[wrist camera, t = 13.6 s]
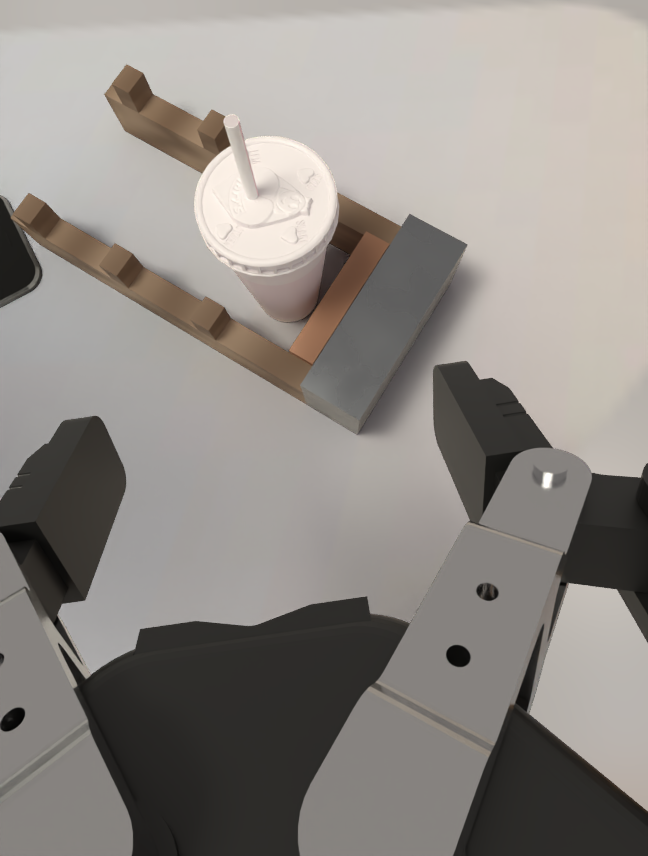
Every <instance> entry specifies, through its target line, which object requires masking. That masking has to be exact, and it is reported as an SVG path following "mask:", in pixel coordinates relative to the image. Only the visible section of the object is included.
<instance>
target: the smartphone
mask: <svg viewBox="0 0 648 856" xmlns="http://www.w3.org/2000/svg"><path fill="white" fill-rule="evenodd" d="M13 213H14V212H13V210H12V208H11V206H10V204H9V202H8V201H7V200H6V199H5V198H4V197H3V196H1V195H0V308H1V307H3V306H4V305H6V304H8V303H10V302H12V301H14V300H16V299H18V298H20V297H22V296H24V295H25V294H27V293H29V292H31V291H32V290H34V289H35V288H36V287H37V286H38V284H39V282H40V280H41V276H42V271H41V268H40V265H39V263H38V261H37V259H36V257H35V255H34V253H33V251H32V249H31V247H30V245H29V243H28V241H27V239H26V236H25V234H24V232H23V230H22V228H21V227H20V226H19V225H18V224H16V223H15V222H14V221H13V220H12V219H11V216H12V215H13Z"/></svg>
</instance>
